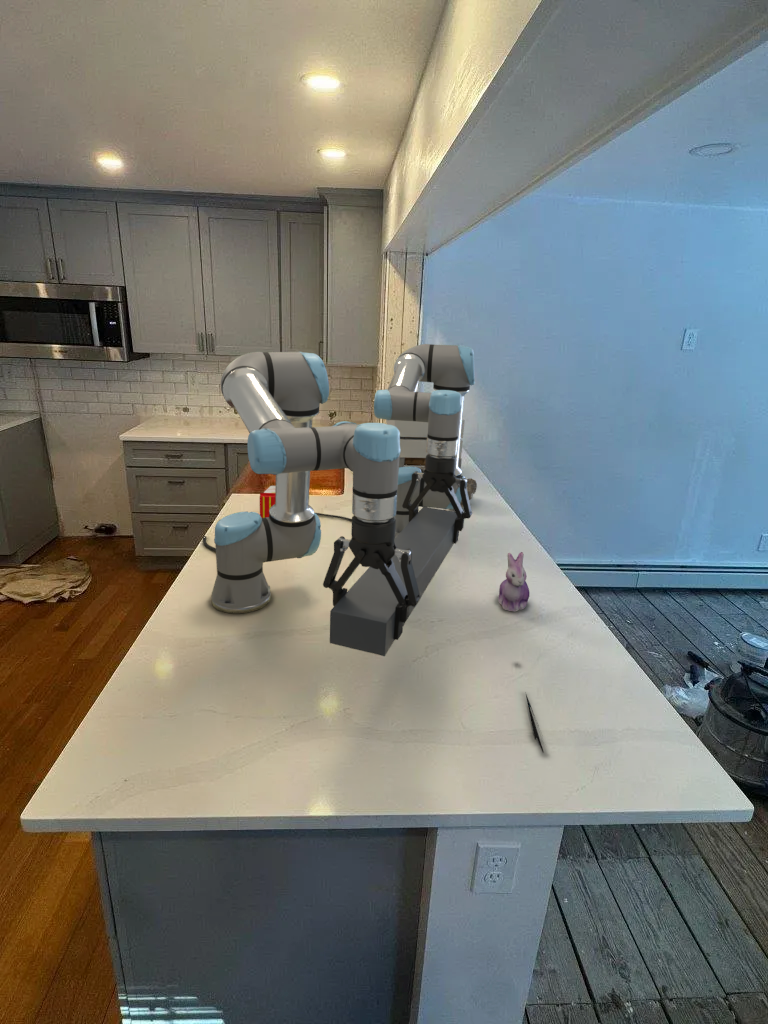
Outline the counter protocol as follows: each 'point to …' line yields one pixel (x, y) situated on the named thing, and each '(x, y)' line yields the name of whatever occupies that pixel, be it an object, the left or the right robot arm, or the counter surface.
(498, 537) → the counter surface
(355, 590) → the slab
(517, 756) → the counter surface
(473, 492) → the fossil
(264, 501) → the toy
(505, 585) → the figurine
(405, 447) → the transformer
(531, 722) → the feather
